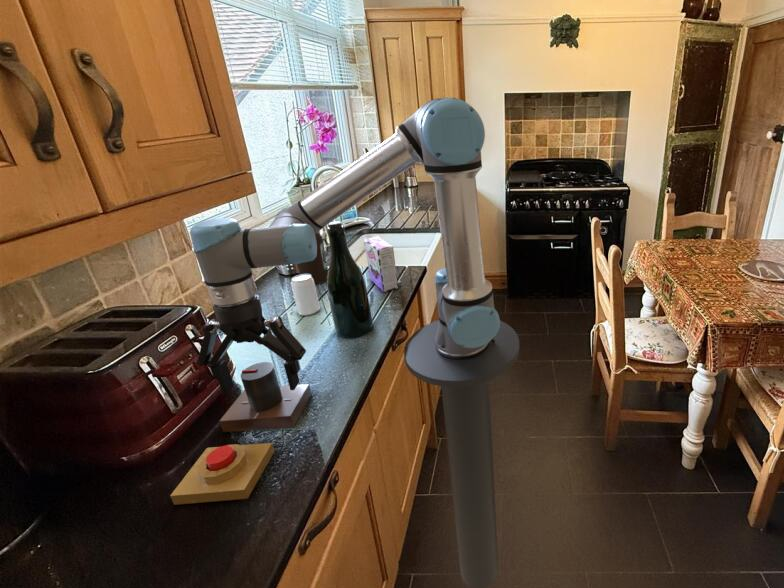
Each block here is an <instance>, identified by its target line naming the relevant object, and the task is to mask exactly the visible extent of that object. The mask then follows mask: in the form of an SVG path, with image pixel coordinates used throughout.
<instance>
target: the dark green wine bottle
mask: <svg viewBox="0 0 784 588" xmlns="http://www.w3.org/2000/svg"><path fill="white" fill-rule="evenodd" d="M327 226H328V227H327V228H326V232H327V235H328V241H329V249H330V260H329V267H328V275H327V280H326V288H327V294H328V300H329V306H330V311H331V317H332V323H333V326H334V330H335V333H336V335H338V337H342V338H349V339H350V338H355V337H356V338H357V337H360V336H363V335H364V334H366V333H368V332H369V331H371V329H372V327H373V324H374V321H373V316H372V311H371V305H370V300H369V296H368V291H367V290H368V289H367V286H366V281H365V277H364V274H363V272H362V269H361V268H360V267H359V265H358V264H357V262H356V261H355V259H354V258H353V256H352V254H351V251H350V247H349V244H348V241H347V237H346V228H345V226H344V225H343V223H342V222H341V221H337V220H336V221H335V220H334V221H332V222H330V223H329V224H327Z"/></svg>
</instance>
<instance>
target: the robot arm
mask: <svg viewBox="0 0 784 588" xmlns="http://www.w3.org/2000/svg"><path fill="white" fill-rule="evenodd" d="M485 138H486V131H485V125H484V122H483V120H482V117H481V115H480V114H479V112H478V111H477V110H476V109H475V107H473V106H472V105H471V104H469V103H468V102H466V101H465V100H463V99H460V98H457V97H442V98H441V97H440V98H439V97H438V98H433V99H431V100H429V101H426V102H425V103H424V104H423V105H421V106H420V107H419V108H417V110H416V111H415V112H414V113H413V114H412V115H411V116H409V117H408V118H407V119H405V121H403V122H402V123H400V124H398V126H396V127H395V133H394V134H393V135H392V136H390V137H389V138H387V139H386V140H384V141H383V142H382V143H380V144H378V145H377V146H376V147H374V148H373V149H371V150H370V151H368V152H367V153H365V154H363V156H361V157H359V158H358V159H357V160H355V161H354V162H352V163H351V164H349V165H348V166H347V167H345V168H344V169H342V170H341V171H339V172H338V173H337V174H335V175H334V176H332V177H331V178H329V179H328V180H326V181H325V182H323V183H322V184H321V185H319V186H317V187H316V188H315V189H313V190H312V191H310V192H308V193H307V194H306V195H305V196H303V197H302V198H300V199H299V200H298V201H296V202H294V203H293V204H291V205H289V206H286V207H284V208H283V209H282V210H280V211H279V212H278V213H277V214H276V216H275V217H274V219H273V221H272V222H271V223H270V225H269V226H265V227H257V228H256V227H255V228H242V226H241V225H240V223H239V221H238V220H236V219H235V218H231V217H229V218H226V217H225V218H224V217H221V218H212V219H207V220H203V221H200V222H197V223H195V224H194V225H193V226H191V228H190V230H189V235H190V239H191V243H192V248H193V253H194V254H195V257H196V259H197V263H198V266H199V269H200V271H201V272H200V273H201V274H202V277H203V281H204V284H205V287H206V291H207V293H208V296H209V299H210V302H211V304H212V309H213V312H214V316H215V319H214V318H212V319H210V320H209V321H208V322H206V323H205V324H204V325H203V326H202V331H203V338H202V342H201V346H200V350H199V353H198V358H197V361H196V364H197V365H198V366H200V367H203V366H207V367H208V368H209V369H210V371H211V374H212V377H213V379H214V380H217V381H218V385H219V387H220V390H221V393H222V395H228V394H229V392H230V391H231V390H232V389H233V388H234V386H235V385H234V381H233V379H232V375H231V372H230V369H229V366H228V363H227V360H226V359H225V360H224V359H223V357H224V356H225V354H226V353H227V351H228V350H229V349H230V347H231V346H232V344H233V343H234V342H236V344H242V343H254V342H255V343H257V344H258V345H263V346H264V347H265V348H267V349H268V350H270V351H271V352H272V353H274V354H275V355H277V356H278V357H280V358H281V359H283V361H285V362H284V363H283V367H284V370H285V375H286V378H287V382H288V385H289V386H290V390H294V389H295V388H296V386H297V385H299V383H300V378H299V372H300V371H301V365H300V361H301V360H302V358H303V357H304V356H305V355H306V352H307V350H306V348H305V347H304V346H303V345H302V343H300V341H299V340H298V339H297V338H296V337H295V336H294V334H293V333H292V332H291V331H290V330H289V329H288V328H287V326H286V325H284V322H283V319H282V317H281V316H280V315H275V316H274V318H269V319H266V318H265V317H264V315H263V308H262V304H261V300H260V299H261V298H260V296H259V294H258V288H257V285H256V281H255V278H254V275H253V272H252V271H253V270H252V269H260V268H270V267H276V266H277V267H279V266H286V265H287V266H288V265H297V264H300V263H303V262H309V261H313V260H314V259H315V258H316V256H317V242H316V236H315V233H316V232H319V231H320V230H322V229H323V228H325V227H326V226H328V224H329V223H330V222H334V221H335V220H336V219H338V218H339V217H340V216H342V215H343V214H345V213H346V212H348V211H349V210H350V209H353V208H354V207H355V206H357V205H358V204H359V203H361V202H363V201H364V200H365V199H366V198H368V197H369V196H371V195H372V194H374V193H375V192H377V191H378V190H380V189H381V188H382V187H384V186H385V185H387V184H388V183H390V182H391V181H392V180H394V179H395V178H397V177H398V176H400V175H401V174H403V173H404V172H406V171H407V170H408V169H410V168H411V167H413V166H414V165H417V164H420V165H423V168H424V173H425V174H427V175H428V176H429V177H430V178H431V179H433V184H434V192H435V200H436V209H437V215H438V222H439V231H440V238H441V244H442V252H443V260H444V267H443V268H440V269H438V271H437V272H436V273H435V275H434V278H435V279H434V285H435V291H436V303H437V311H438V312H437V313H438V320H439V325H438V329H437V333H436V337H435V349H436V351H437V353H438V354H439V355H441V356H443V357H445V358H448V359H453V360H464V359H469V358H473V357H476V356H478V355H480V354H482V353H483V352H484V351H485V350H486V349H487V348H488V346H489V342H493V343H494V342H495V340H494V339H492V338H493V337H495V336H496V334H497V333H498V330H499V327H500V321H501V320H500V315H499V312H498V311H497V310H496V308H495V302H494V292H493V290H494V289H493V283H492V282H491V281H490V280H488V278H486V275H485V266H484V254H483V245H482V244H483V243H482V232H481V221H480V220H481V219H480V211H479V209H480V208H479V199H478V189H477V179H476V178H477V177H476V176H477V174H478V173H479V172H480V171H481V169H482V168H483V162H482V149H483V147H484V143H485ZM219 331H220V332H222V333H223V334H224V335H225V337H224V338H223V340H222V341H221V343H220V344H219V346H218V348H217V349H216V351H215V353H214V354H213V352H214V351H213V350H214V348H215V343H216V340H217V336H218V333H219ZM262 334H263V336H262ZM222 359H223V360H222Z"/></svg>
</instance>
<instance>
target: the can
mask: <svg viewBox="0 0 784 588" xmlns="http://www.w3.org/2000/svg"><path fill="white" fill-rule="evenodd" d="M290 286H291V289H292V295H293V298H294V302H295V307H296V310H297V314H299V315H300V316H302V317H303V316H304V317H306V316H312V315H315V314H316V313H317V312H319V311H320V309H321V306H320V302H319V296H318V292H317V288H316V284H315V283H314V280H313V278H312V277H311V275H310V274H300V273H299V274H297V275H294V276H293V277H291V282H290Z"/></svg>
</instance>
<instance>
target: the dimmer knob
mask: <svg viewBox="0 0 784 588" xmlns="http://www.w3.org/2000/svg"><path fill="white" fill-rule="evenodd" d="M240 379H241V382H242V386H243V388H244V389H243V390H245V392H246V395H247V398H248V401H249V404H250V407H251V409H252V410H254V411H264V410H267V409H270V408H272V407H274V406H275V405H277V404H278V403H279V402H280V401H281V399H282V393H281V389H280V386H281V385H280V383H279V379H278V376H277V372H276V369H275V365H274V364H273V363H272V362H269V361H262V362H257V363H254V364H252V365H249V366H248V367H245V368H244V369H242V370H241V373H240Z"/></svg>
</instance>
